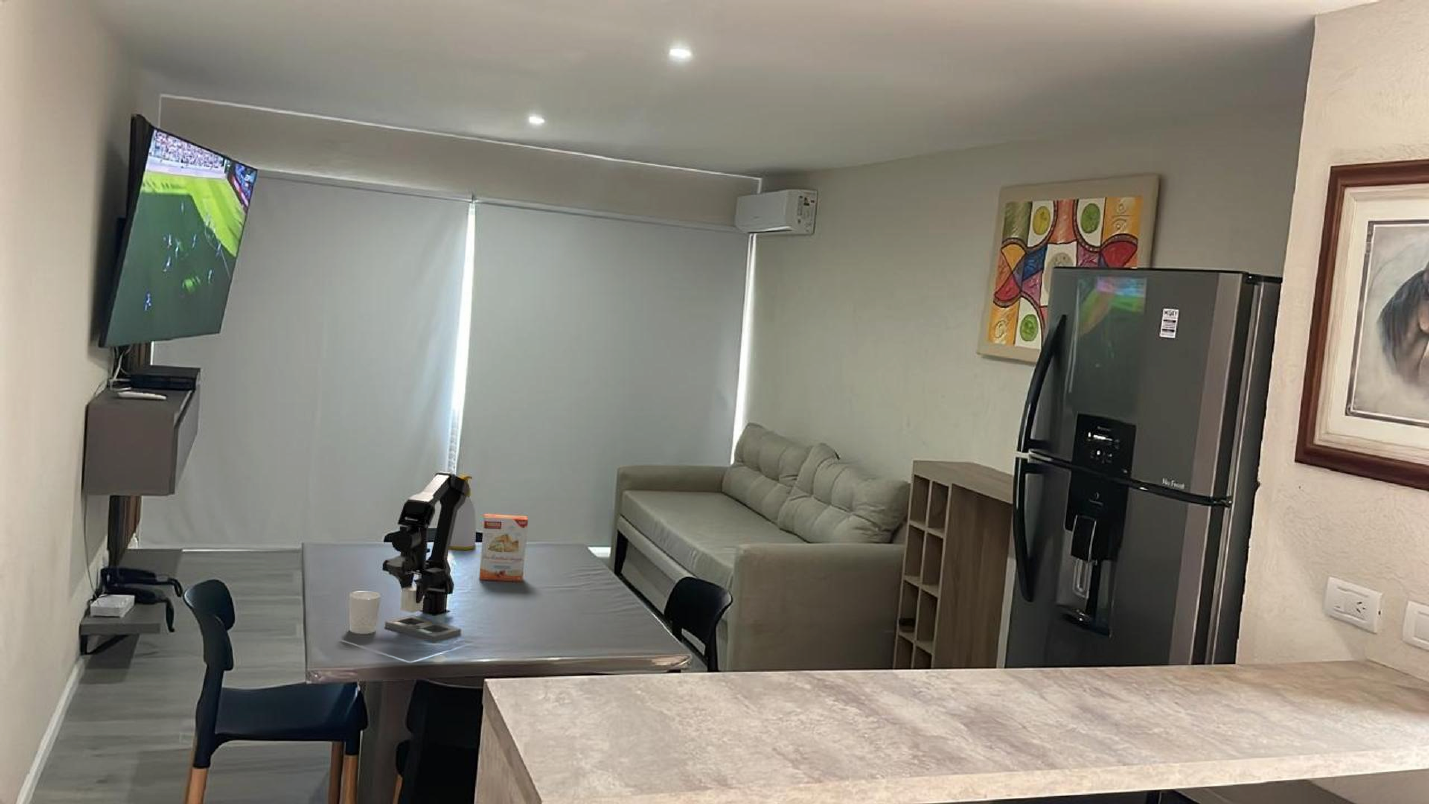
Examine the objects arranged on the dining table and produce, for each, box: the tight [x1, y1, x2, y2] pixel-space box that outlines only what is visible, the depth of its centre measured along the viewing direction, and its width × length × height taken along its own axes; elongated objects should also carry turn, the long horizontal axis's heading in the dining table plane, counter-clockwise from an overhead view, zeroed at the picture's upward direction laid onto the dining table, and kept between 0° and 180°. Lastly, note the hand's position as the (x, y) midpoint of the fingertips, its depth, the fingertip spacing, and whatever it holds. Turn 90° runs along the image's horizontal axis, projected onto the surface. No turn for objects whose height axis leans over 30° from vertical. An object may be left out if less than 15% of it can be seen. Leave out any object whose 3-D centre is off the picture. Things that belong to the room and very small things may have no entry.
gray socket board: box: [384, 614, 462, 643], centre depth 306 cm, size 10×18×2 cm, turn 60°
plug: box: [400, 585, 424, 614], centre depth 307 cm, size 5×4×6 cm
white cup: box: [348, 590, 382, 635], centre depth 302 cm, size 8×8×10 cm
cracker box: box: [478, 513, 529, 583], centre depth 369 cm, size 14×6×21 cm, turn 102°
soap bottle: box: [449, 474, 477, 551], centre depth 408 cm, size 11×12×26 cm
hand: (412, 601), depth 308 cm, fingers closed on plug, 4 cm apart
